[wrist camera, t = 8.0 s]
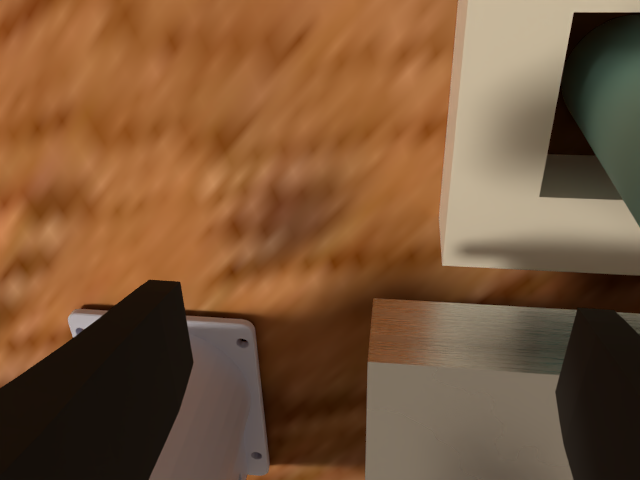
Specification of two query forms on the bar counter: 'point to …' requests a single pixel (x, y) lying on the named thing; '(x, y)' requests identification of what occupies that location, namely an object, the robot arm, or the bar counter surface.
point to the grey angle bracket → (466, 391)
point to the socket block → (524, 150)
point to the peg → (609, 101)
